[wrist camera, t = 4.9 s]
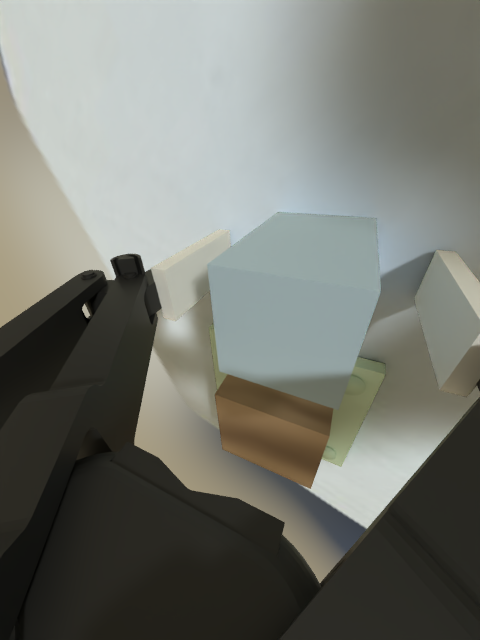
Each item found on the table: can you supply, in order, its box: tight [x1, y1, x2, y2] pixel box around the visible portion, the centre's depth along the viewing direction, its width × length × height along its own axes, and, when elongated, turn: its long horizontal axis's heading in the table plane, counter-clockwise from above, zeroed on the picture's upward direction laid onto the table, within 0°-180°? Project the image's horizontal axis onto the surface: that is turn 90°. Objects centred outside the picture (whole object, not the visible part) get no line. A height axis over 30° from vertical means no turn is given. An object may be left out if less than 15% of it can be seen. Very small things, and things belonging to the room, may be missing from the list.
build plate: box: [209, 323, 386, 467], centre depth 22 cm, size 13×13×1 cm
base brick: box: [215, 374, 333, 489], centre depth 20 cm, size 8×8×4 cm
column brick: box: [207, 212, 381, 410], centre depth 11 cm, size 5×5×8 cm
